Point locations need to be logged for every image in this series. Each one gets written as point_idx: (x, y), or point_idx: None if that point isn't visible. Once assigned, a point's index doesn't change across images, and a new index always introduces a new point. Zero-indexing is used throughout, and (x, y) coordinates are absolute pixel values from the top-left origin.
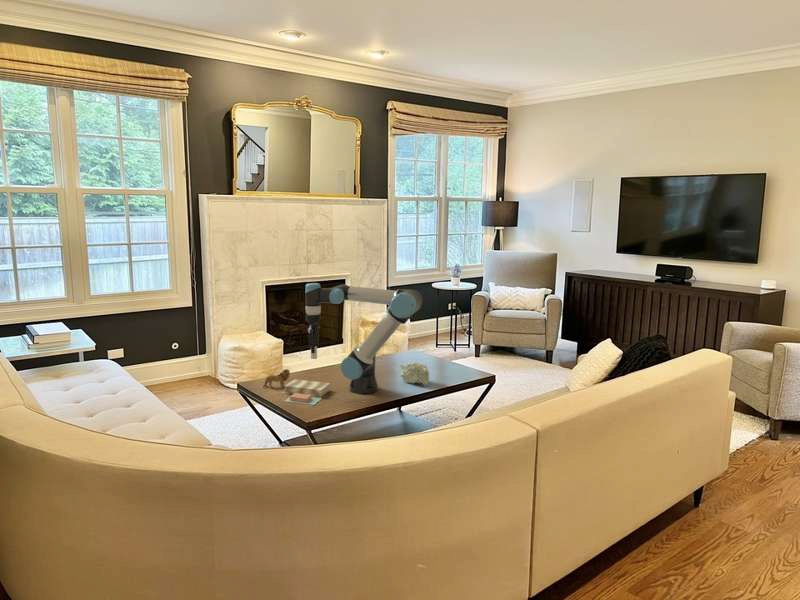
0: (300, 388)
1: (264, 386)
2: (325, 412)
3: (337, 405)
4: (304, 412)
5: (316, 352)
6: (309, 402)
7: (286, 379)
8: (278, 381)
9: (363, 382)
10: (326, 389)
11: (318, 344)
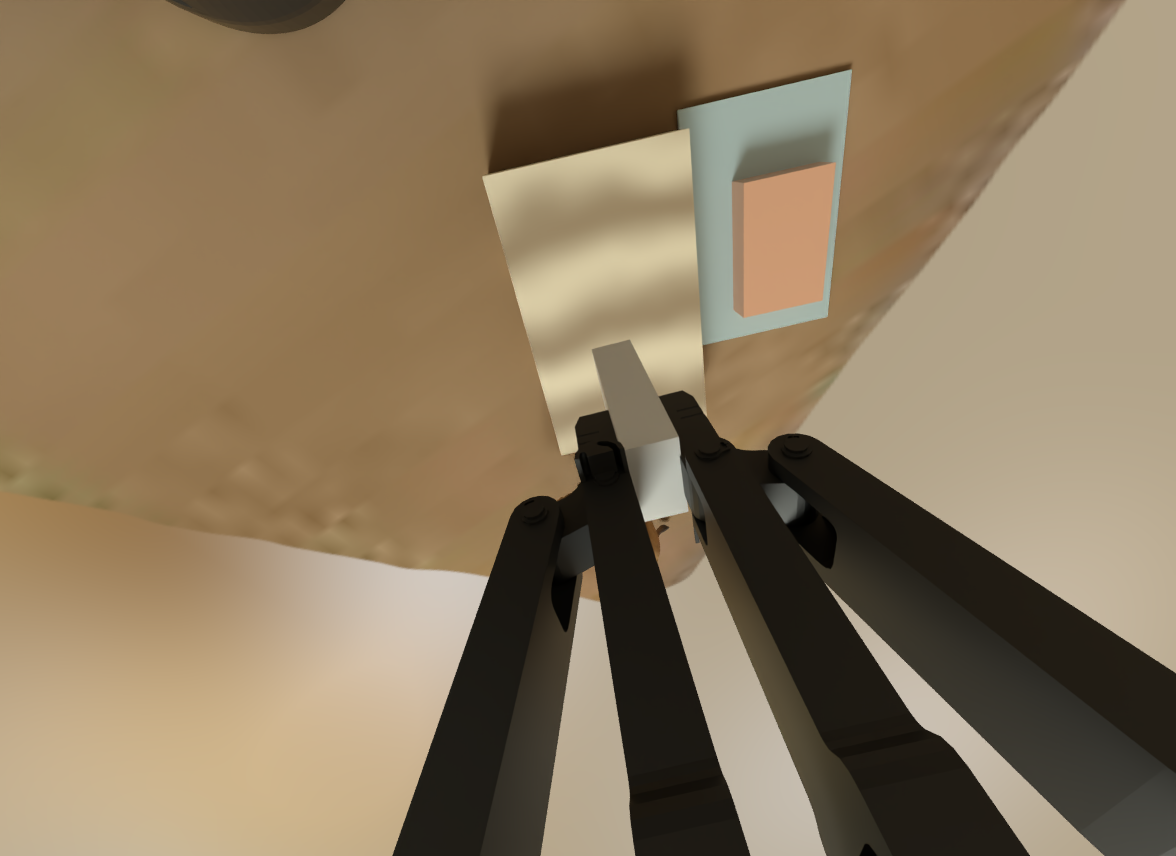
0: (699, 317)
1: (662, 526)
2: None
3: None
4: (1005, 44)
5: (622, 386)
6: (809, 142)
7: None
8: None
9: None
10: (564, 156)
11: (577, 461)
